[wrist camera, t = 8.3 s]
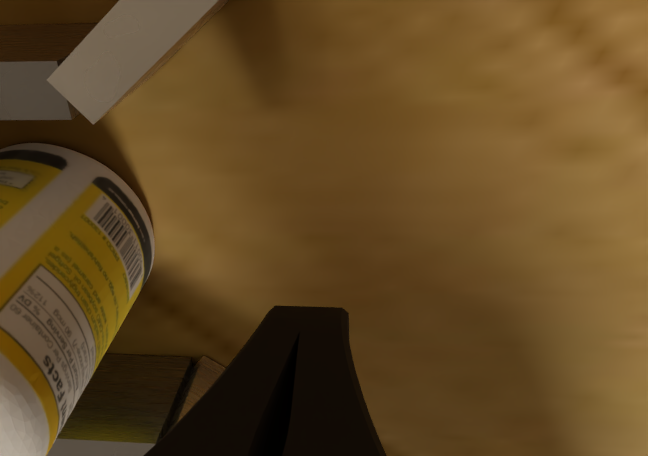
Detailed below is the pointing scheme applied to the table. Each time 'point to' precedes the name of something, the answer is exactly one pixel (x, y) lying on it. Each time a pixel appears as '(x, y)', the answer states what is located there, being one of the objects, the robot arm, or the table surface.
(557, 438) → the table surface
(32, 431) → the supplement bottle
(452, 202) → the table surface
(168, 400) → the steel bracket
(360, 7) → the table surface
